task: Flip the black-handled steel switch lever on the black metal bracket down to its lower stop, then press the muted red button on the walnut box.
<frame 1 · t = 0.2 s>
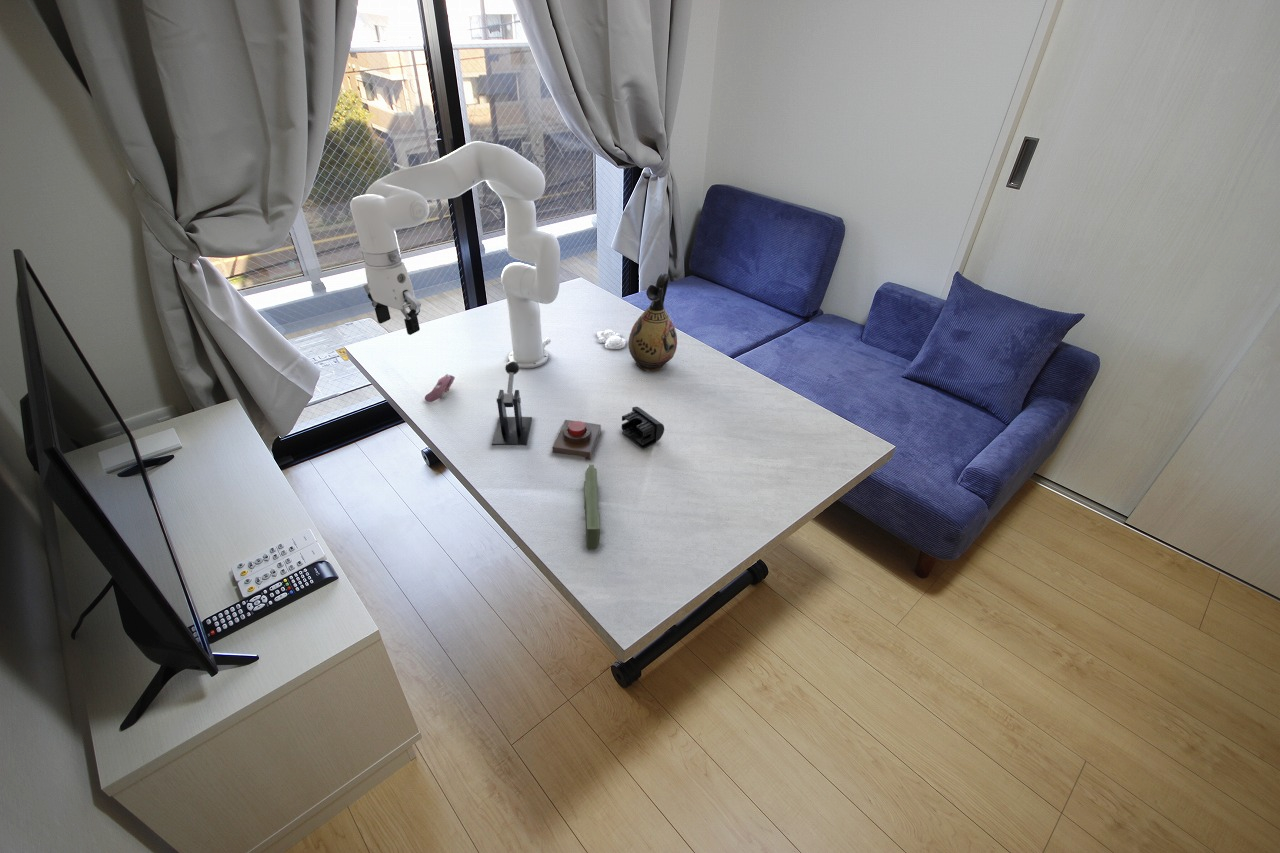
hand: (399, 326, 134), 31 cm above the table, tool pointing down, fingers open, 9 cm apart
switch lever: (510, 383, 149), point 13 cm above the table, hinge at 24.0°
white fluffy lump: (611, 341, 196), on the table
start button: (576, 428, 148), point 5 cm above the table, slide at 0.1 cm
end cap: (641, 436, 155), on the table
video game controller: (442, 395, 166), on the table
handheld radio: (591, 508, 133), on the table
ceramic jug: (652, 363, 185), on the table
button box: (577, 443, 151), on the table
switch bracket: (512, 433, 153), on the table
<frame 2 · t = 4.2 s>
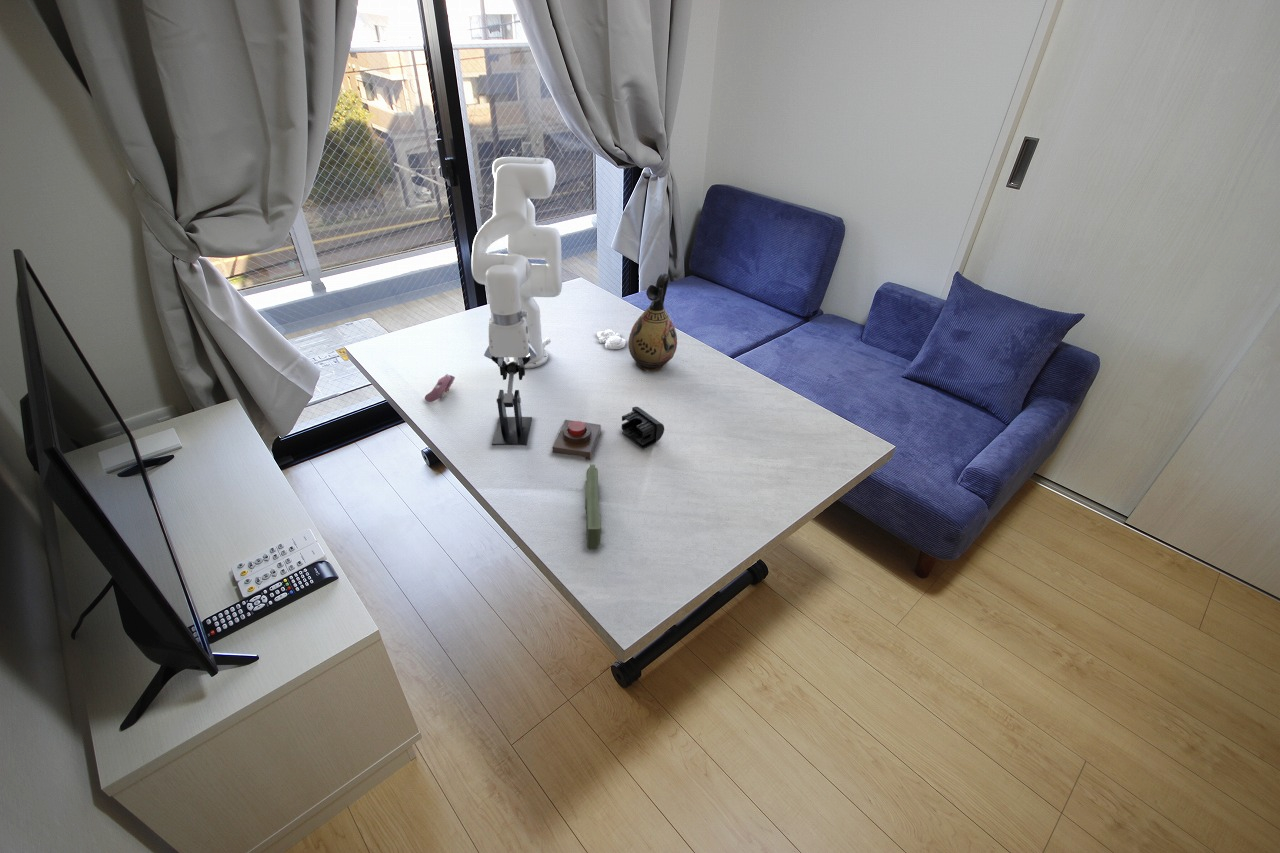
hand: (513, 376, 153), 12 cm above the table, tool pointing down, fingers closed on switch lever, 3 cm apart
switch lever: (510, 383, 149), point 13 cm above the table, hinge at 24.0°, touching gripper
everything else where it was.
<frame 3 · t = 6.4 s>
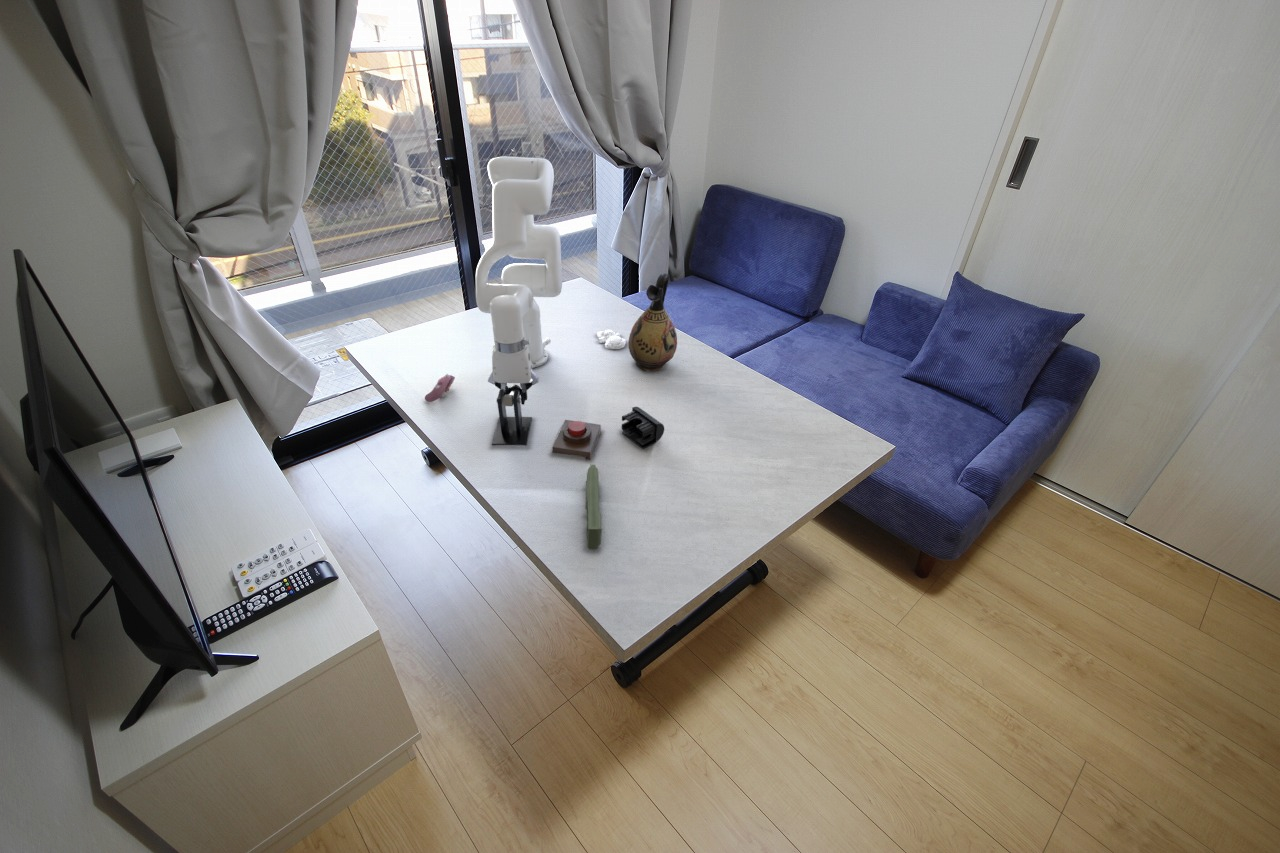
hand: (515, 401, 158), 4 cm above the table, tool pointing down, fingers closed on switch lever, 3 cm apart
switch lever: (512, 395, 151), point 9 cm above the table, hinge at -20.4°, touching gripper
everything else where it was.
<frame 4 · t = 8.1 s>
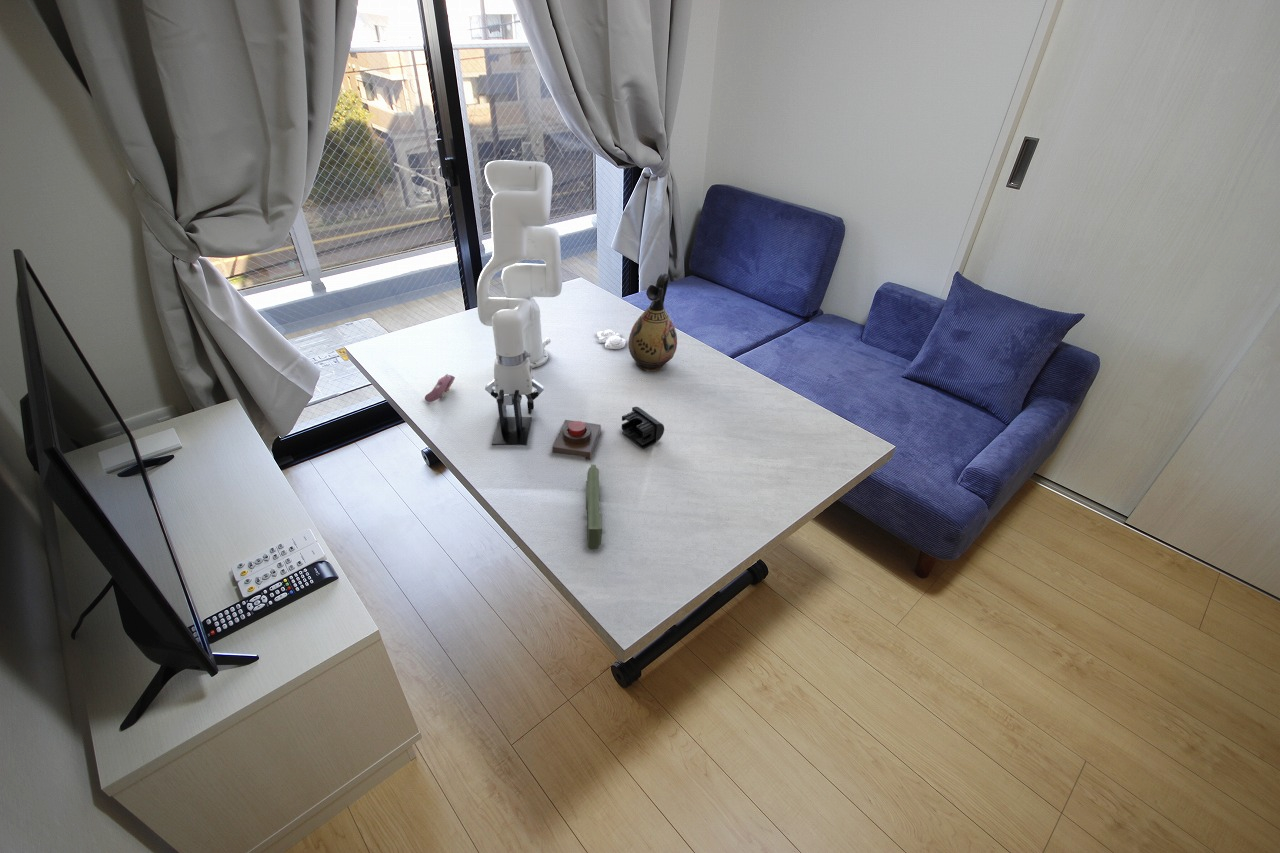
hand: (517, 410, 160), 1 cm above the table, tool pointing down, fingers open, 6 cm apart
switch lever: (512, 398, 152), point 8 cm above the table, hinge at -30.5°
everything else where it was.
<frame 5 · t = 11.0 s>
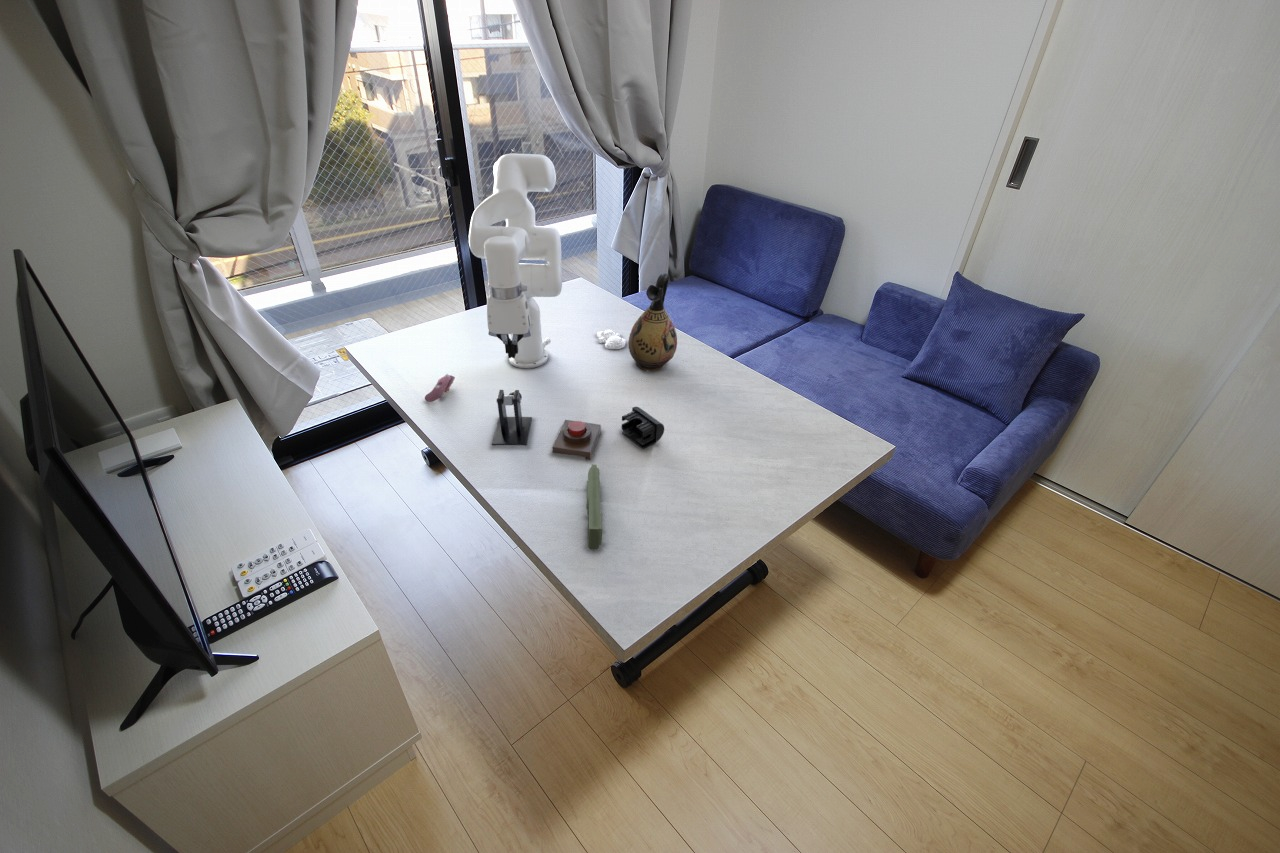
hand: (512, 355, 148), 19 cm above the table, tool pointing down, fingers closed
nothing on the table moved.
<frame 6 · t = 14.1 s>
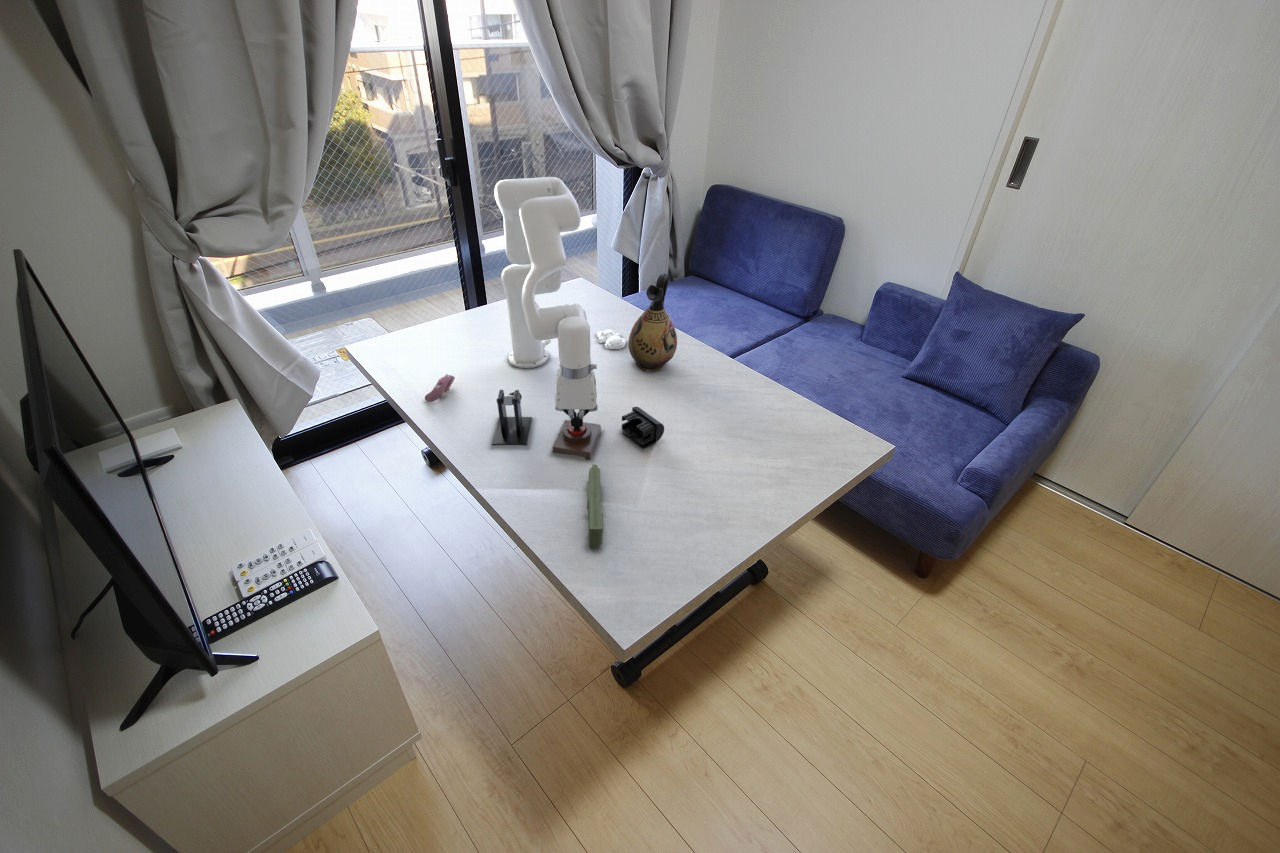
hand: (577, 427, 148), 5 cm above the table, tool pointing down, fingers closed
start button: (577, 430, 148), point 4 cm above the table, slide at -0.5 cm, touching gripper
everything else where it was.
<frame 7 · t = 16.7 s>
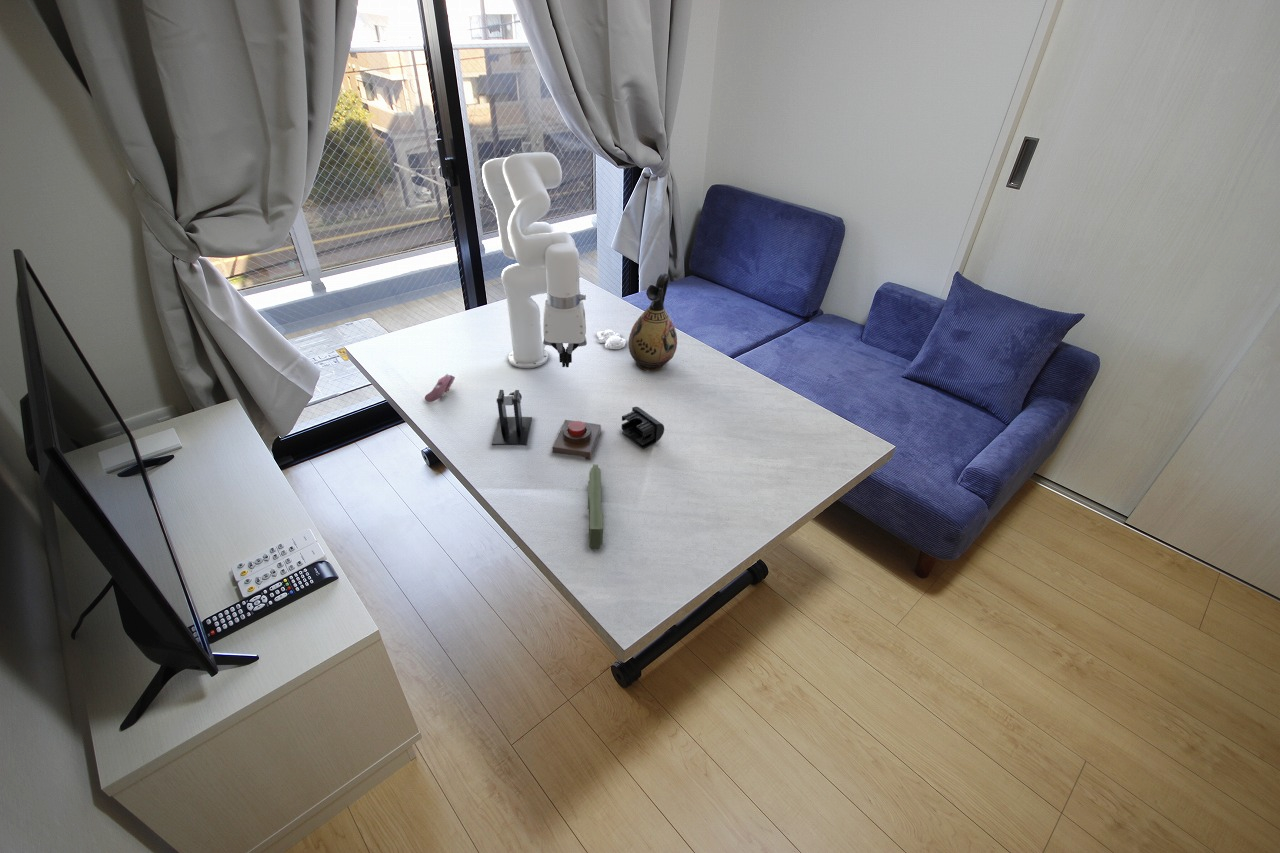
hand: (565, 364, 144), 20 cm above the table, tool pointing down, fingers closed
start button: (576, 428, 148), point 5 cm above the table, slide at 0.1 cm
everything else where it was.
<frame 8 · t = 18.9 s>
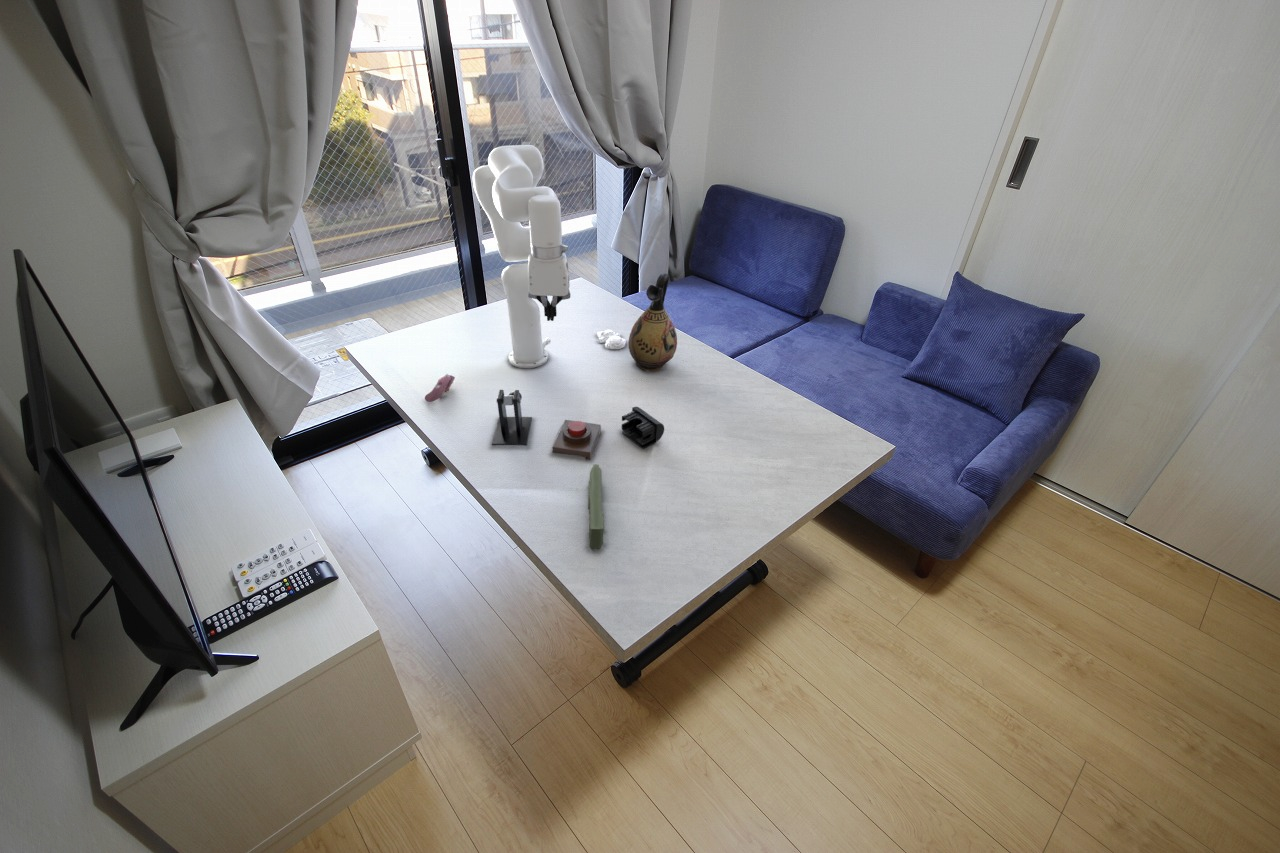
hand: (550, 318, 149), 27 cm above the table, tool pointing down, fingers closed
nothing on the table moved.
at the end: switch lever at -30° (first picture: +24°); start button pushed in 1.1 cm at the most during the clip, back to where it started at the end; start button slide at 0.1 cm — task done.
